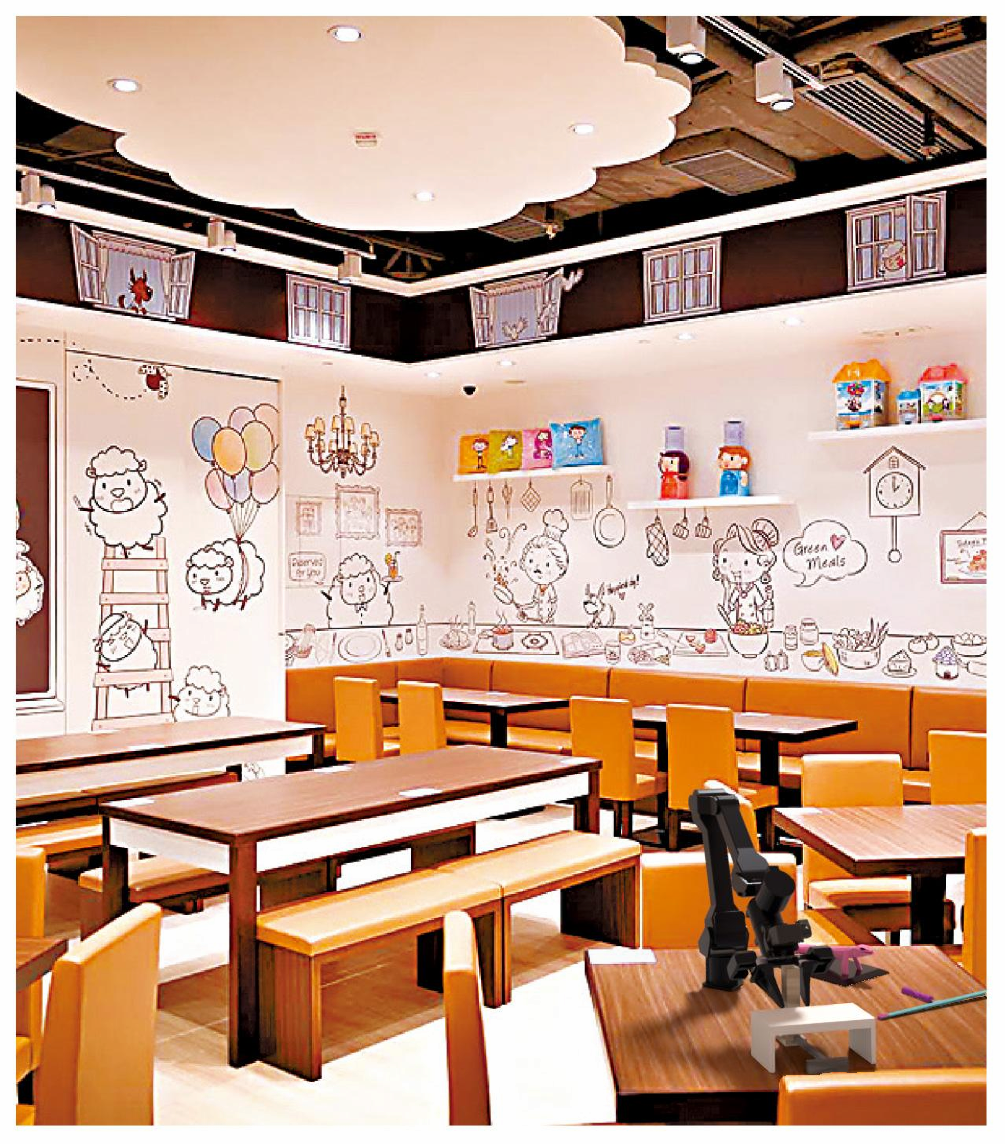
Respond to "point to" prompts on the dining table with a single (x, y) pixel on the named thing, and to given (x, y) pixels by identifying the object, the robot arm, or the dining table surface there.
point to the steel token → (832, 1070)
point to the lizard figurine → (847, 965)
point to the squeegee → (928, 999)
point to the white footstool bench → (811, 1028)
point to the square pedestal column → (813, 1066)
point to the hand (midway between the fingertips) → (795, 1007)
